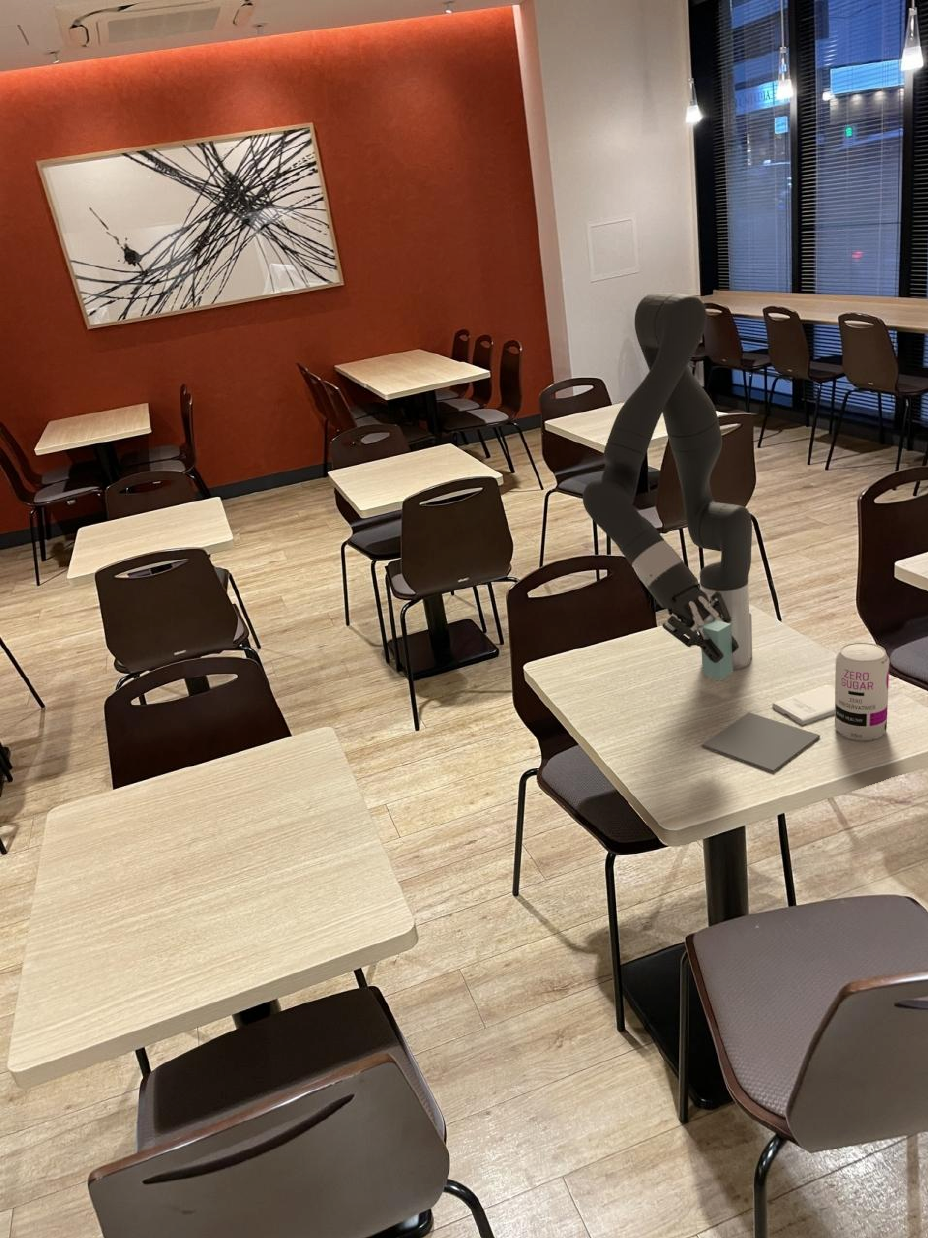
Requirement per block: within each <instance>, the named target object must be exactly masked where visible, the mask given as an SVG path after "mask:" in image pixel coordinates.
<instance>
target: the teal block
mask: <svg viewBox="0 0 928 1238" xmlns="http://www.w3.org/2000/svg"><path fill="white" fill-rule="evenodd" d="M703 629H704V630H705V631H706V632H707V634H708V636H709V639H710V638H711V640H712V641H713V642H714V644H715V645H716V646H717V647H718V649H720V651H721V652H722V653H723V655H724V657H723V658H722V659H721V660H720V661H719V662H717V663H714V662H713V661H711V660H710V659H709V658H708V657H707V655H706V654H705V653H704V652H703V650H702V649H701V648H700V650H701V665H702V676H703V677H707V678H711V679H715V680H717V681H722V680H724V679H725V678H726V677H729V676H730V675H731V674H733V673H734V670H733V661H732V636H731V624H730V623H726V622H722V621H718V620H711V621H709V622H708V623H706V624H704V627H703Z"/></svg>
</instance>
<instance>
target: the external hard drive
mask: <svg viewBox="0 0 928 1238" xmlns="http://www.w3.org/2000/svg"><path fill="white" fill-rule="evenodd" d="M772 708H773V709H775V710H776V711H777V712H780V713H781V714H783V715H786V716H787V717H788V718H791V720H793V721H795V722H797V723H798V724H800V725H802V726H803V725H807V724H810V723H812V722H815V721H818V720H821V719H824V718H826V717H830V716H832V715H833V716H834V715H835V686H833V685H830V684H824V685H821V686H818V687H816V688H813V689H810V690H806V691H804V692H800V693H798V694H795V695H793V696H790V697H787V698H783V699H781V700H778V701H775V702H772Z"/></svg>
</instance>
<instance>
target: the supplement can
mask: <svg viewBox="0 0 928 1238" xmlns="http://www.w3.org/2000/svg"><path fill="white" fill-rule="evenodd" d="M889 676H890V658H889V656H888V655H887V651H886V649H885V648H884V647H882V646H880V645H878V644H875V643H871V642H870V643H869V642H853V643H848V644H844V645H843V646H842V647H841V648H840V650H839V652H838V653H837V654H836V657H835V680H834V681H835V683H834V684H835V686H834V687H835V714H834V728H835V730H836V731H837V732H838V733H839V734H840V735H842V736H843V737H845V738H847V739H849V740H853V741H858V742H862V741H865V740H866V741H865V742H867V740H868V741H872V739H874V740H876V739H878V738H877V737H879V738H880V737H881V736H883V735H884V734H885V733H886V732H887V728H888V726H887V725H888V709H889V708H888V703H889V681H890V677H889ZM875 738H876V739H875Z"/></svg>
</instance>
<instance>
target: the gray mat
mask: <svg viewBox="0 0 928 1238" xmlns="http://www.w3.org/2000/svg"><path fill="white" fill-rule="evenodd" d="M819 739H821V735H820V734H817V733H815V732H812V731H808V730H805V729H802V728H799V727H796V726H792V725H789V724H787V723H783V722H780V721H777V720H775V719H774V720H773V719H771V718H768V717H765V716H763V715H762V716H761V715H758V714H756V713H753V712H751V711H750V712H747V713H745V714H744V715H743V716H741V717H740V718H739V719H737V720H736V721H734V722H732V723H730V725H728V726H727V727H725V728H724V729H722V730H720V731H719V732H718V733H716V734H714V735H713V736H712V737H710V738H708V739H707V740H706V741H704V742H703V743H701V747H702V748H705V749H708V750H710V751H713V752H715V753H718V754H721V755H723V756H726V757H729V758H732V759H734V760H737V761H739V762H743V763H746V764H748V765H751V766H754V767H756V768H759V769H762V770H764V771H767V772H770V773H772V774H775V773H776V771H779V770H780V769H781V768H782V767H783V766H784V765H787V764H788V762H790V761H791V760H793V759H794V758H795V757H797V756H799V754H801V753H802V752H804V750H806V749H807V748H808V747H810V746H811V745H812V744H814V743H815V742H816V741H818V740H819Z"/></svg>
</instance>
